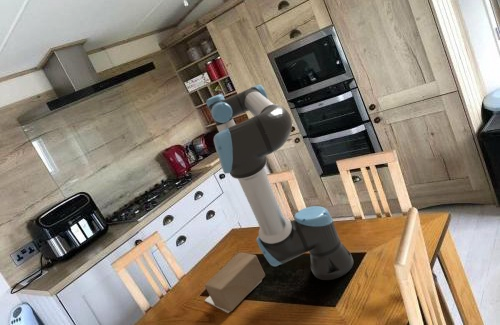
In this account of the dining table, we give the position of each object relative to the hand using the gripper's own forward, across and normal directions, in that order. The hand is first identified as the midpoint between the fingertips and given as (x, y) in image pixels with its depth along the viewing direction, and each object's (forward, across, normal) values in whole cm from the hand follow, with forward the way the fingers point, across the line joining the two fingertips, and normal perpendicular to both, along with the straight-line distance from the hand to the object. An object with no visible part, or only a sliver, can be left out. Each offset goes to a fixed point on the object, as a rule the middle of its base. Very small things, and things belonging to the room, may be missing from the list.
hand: (248, 176), depth 159 cm
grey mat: (+33, -7, +33) cm, 47 cm away
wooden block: (+27, -10, +22) cm, 36 cm away
